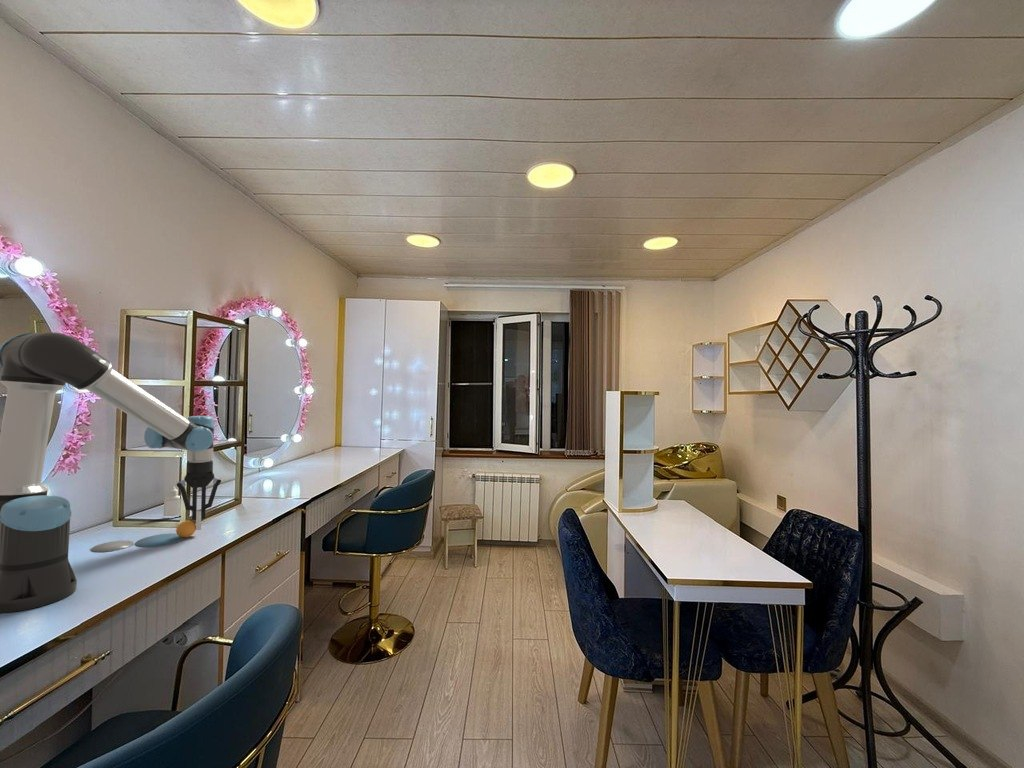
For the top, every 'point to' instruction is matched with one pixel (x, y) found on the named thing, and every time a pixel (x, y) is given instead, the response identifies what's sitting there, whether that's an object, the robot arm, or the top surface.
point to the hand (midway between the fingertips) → (198, 528)
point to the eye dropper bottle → (172, 503)
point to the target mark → (159, 540)
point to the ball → (186, 529)
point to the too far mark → (112, 546)
